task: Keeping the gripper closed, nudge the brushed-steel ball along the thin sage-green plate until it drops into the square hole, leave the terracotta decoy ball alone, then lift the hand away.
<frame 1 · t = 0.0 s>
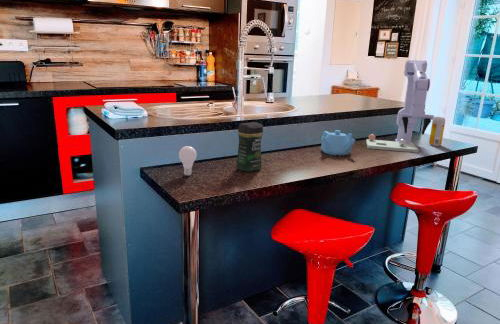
hand: (413, 133, 183), 10 cm above the breakfast bar, fingers open, 7 cm apart
steel ball: (402, 142, 196), point 3 cm above the breakfast bar, touching hole plate
decoy ball: (371, 137, 206), point 3 cm above the breakfast bar, touching hole plate
lightbulb: (187, 176, 141), on the breakfast bar
teapot: (335, 153, 184), on the breakfast bar
beer can: (434, 145, 209), on the breakfast bar
hole plate: (390, 146, 200), on the breakfast bar
coffee jar: (249, 169, 152), on the breakfast bar
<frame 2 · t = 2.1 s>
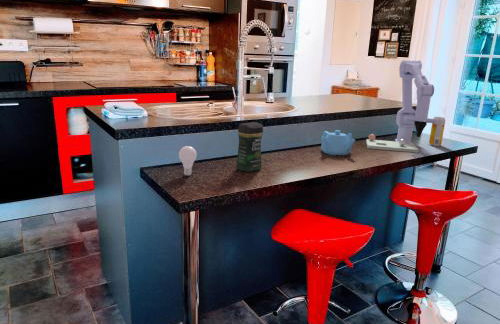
hand: (418, 136, 193), 7 cm above the breakfast bar, fingers closed
nothing on the breakfast bar moved.
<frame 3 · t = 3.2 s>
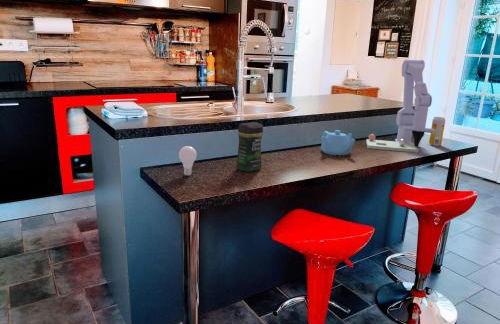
hand: (416, 146, 195), 2 cm above the breakfast bar, fingers closed
nothing on the breakfast bar moved.
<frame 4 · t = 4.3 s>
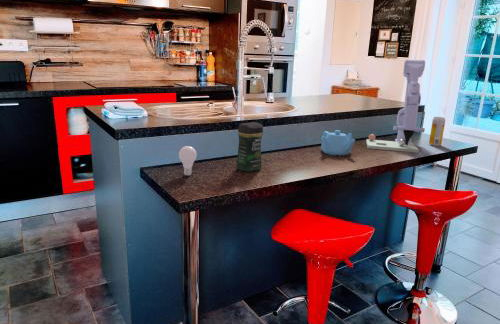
hand: (406, 145, 196), 2 cm above the breakfast bar, fingers closed, pressing on steel ball
steel ball: (402, 142, 196), point 3 cm above the breakfast bar, tilted 5°, touching gripper, hole plate
everything else where it was.
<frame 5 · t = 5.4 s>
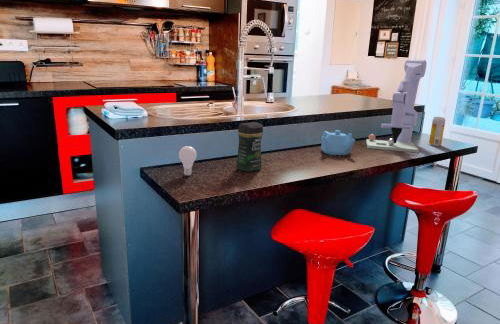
hand: (394, 142, 196), 3 cm above the breakfast bar, fingers closed, pressing on steel ball
steel ball: (391, 141, 197), point 3 cm above the breakfast bar, tilted 171°, touching gripper, hole plate
everything else where it was.
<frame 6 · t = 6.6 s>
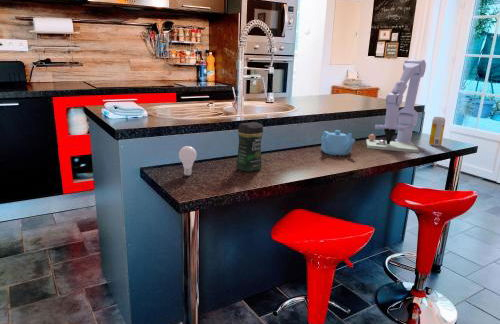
hand: (388, 143, 198), 2 cm above the breakfast bar, fingers closed
steel ball: (382, 143, 199), point 2 cm above the breakfast bar, tilted 96°
everything else where it was.
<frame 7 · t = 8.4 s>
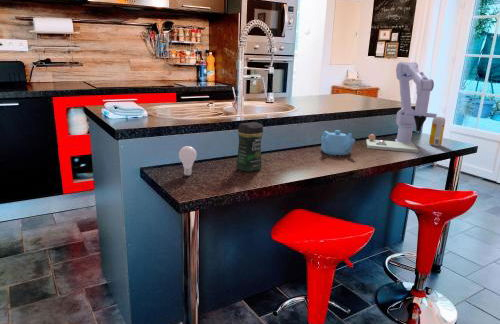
hand: (417, 131, 195), 9 cm above the breakfast bar, fingers closed
steel ball: (381, 143, 199), point 2 cm above the breakfast bar, tilted 85°
everything else where it was.
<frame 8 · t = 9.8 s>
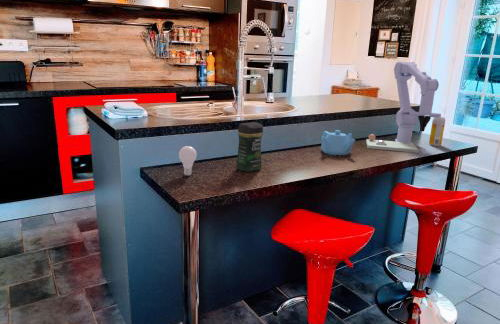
hand: (422, 130, 195), 9 cm above the breakfast bar, fingers closed
steel ball: (381, 143, 198), point 2 cm above the breakfast bar, tilted 76°
everything else where it was.
at the end: steel ball 0.4 cm from the target spot on the hole plate, point 1.7 cm above the hole plate's base; decoy ball moved 0.0 cm from its start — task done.
